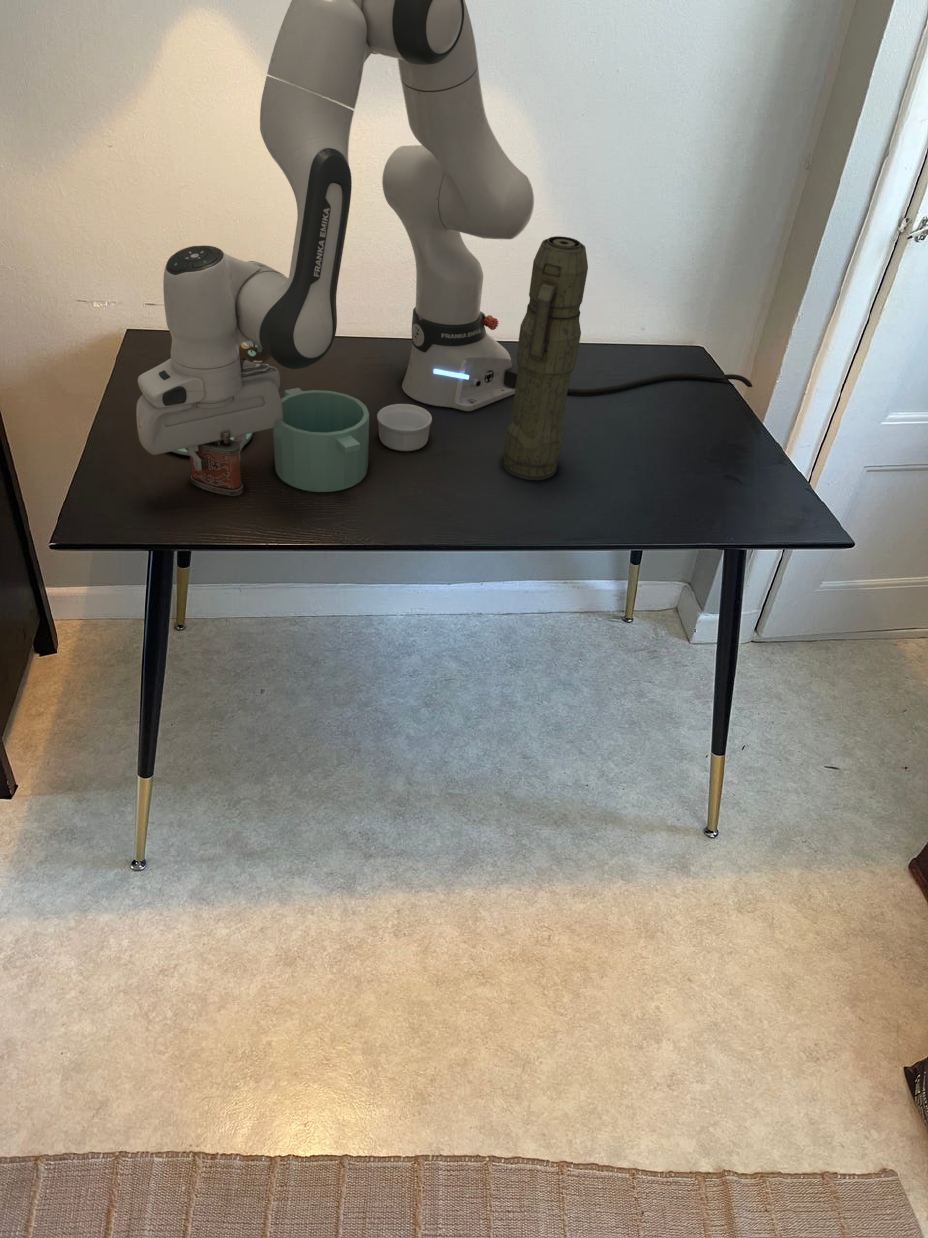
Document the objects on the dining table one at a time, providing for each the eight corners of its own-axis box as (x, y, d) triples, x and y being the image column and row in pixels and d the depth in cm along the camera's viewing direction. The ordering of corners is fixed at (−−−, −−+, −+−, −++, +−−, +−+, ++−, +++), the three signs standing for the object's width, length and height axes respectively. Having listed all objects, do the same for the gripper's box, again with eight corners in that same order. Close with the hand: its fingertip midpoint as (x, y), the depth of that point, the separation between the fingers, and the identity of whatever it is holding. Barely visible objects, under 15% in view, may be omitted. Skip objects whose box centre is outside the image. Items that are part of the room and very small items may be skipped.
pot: (332, 430, 148) (332, 376, 142) (392, 487, 136) (395, 430, 130) (252, 448, 141) (248, 392, 135) (309, 510, 130) (308, 451, 124)
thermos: (493, 477, 141) (522, 248, 119) (511, 443, 150) (541, 224, 128) (548, 490, 140) (588, 260, 117) (563, 455, 149) (602, 235, 126)
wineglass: (268, 402, 154) (265, 334, 146) (236, 396, 154) (231, 328, 147) (281, 388, 158) (278, 321, 150) (250, 382, 159) (245, 315, 151)
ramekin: (417, 458, 144) (419, 434, 141) (367, 444, 145) (367, 420, 143) (438, 435, 150) (440, 411, 147) (390, 422, 152) (390, 398, 149)
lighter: (247, 487, 133) (242, 426, 126) (235, 498, 130) (230, 436, 124) (199, 473, 134) (192, 412, 128) (186, 484, 132) (179, 422, 126)
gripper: (268, 352, 128) (274, 439, 137) (125, 379, 118) (140, 470, 127) (288, 370, 124) (292, 458, 133) (141, 399, 115) (156, 492, 124)
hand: (217, 464), depth 130 cm, fingers closed on lighter, 3 cm apart
